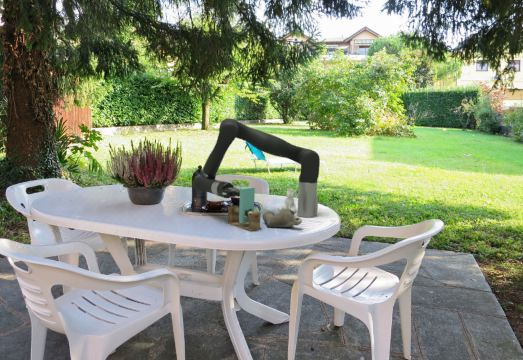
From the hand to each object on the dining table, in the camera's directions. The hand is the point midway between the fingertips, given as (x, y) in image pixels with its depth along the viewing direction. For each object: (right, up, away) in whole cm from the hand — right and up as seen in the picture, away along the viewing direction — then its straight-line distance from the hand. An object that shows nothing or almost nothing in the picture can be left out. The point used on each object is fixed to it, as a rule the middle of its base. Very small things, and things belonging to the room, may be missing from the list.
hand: (245, 195), depth 208 cm
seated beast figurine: (+21, -10, +34) cm, 41 cm away
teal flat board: (+1, -12, +1) cm, 12 cm away
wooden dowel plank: (-1, -14, +3) cm, 15 cm away
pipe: (+17, -15, +6) cm, 23 cm away
